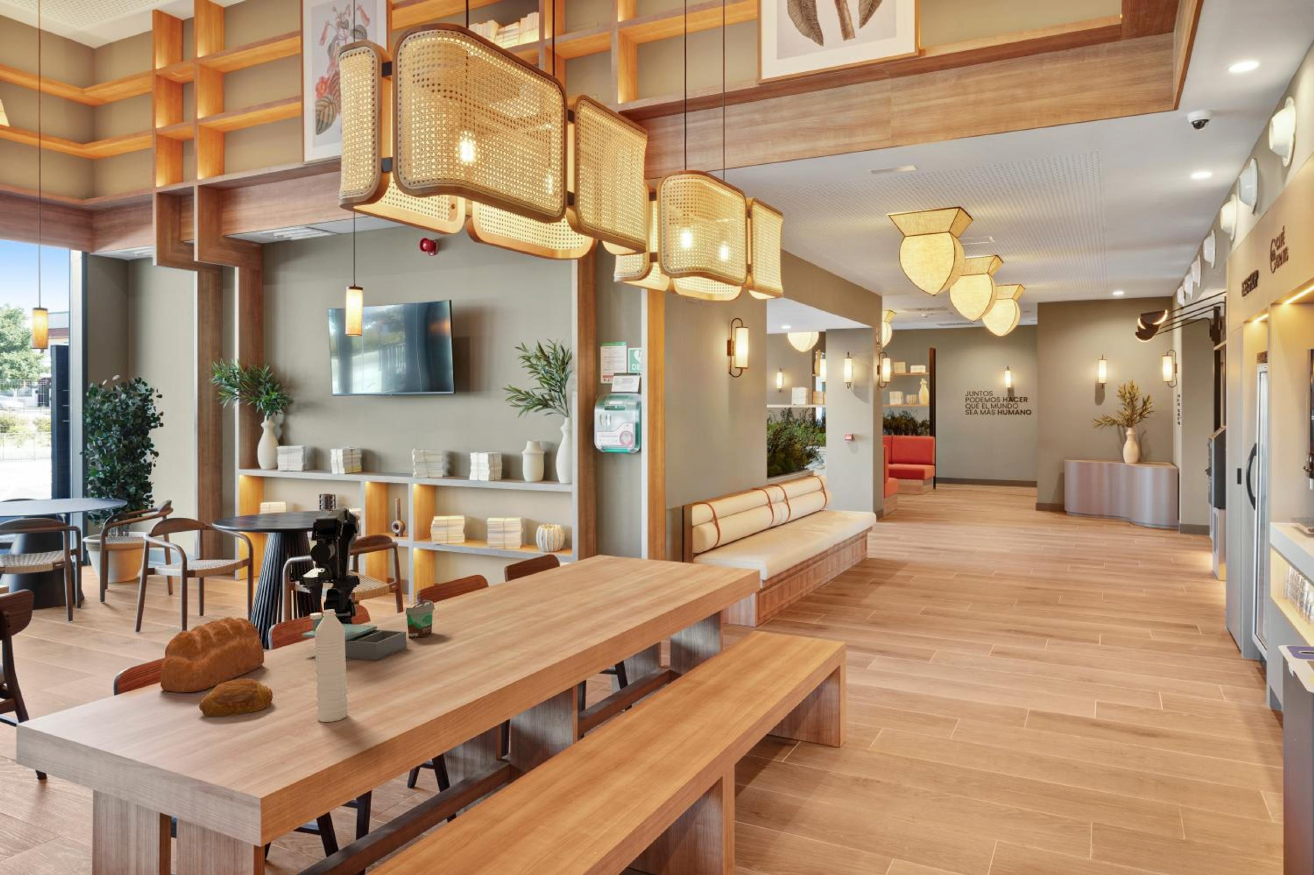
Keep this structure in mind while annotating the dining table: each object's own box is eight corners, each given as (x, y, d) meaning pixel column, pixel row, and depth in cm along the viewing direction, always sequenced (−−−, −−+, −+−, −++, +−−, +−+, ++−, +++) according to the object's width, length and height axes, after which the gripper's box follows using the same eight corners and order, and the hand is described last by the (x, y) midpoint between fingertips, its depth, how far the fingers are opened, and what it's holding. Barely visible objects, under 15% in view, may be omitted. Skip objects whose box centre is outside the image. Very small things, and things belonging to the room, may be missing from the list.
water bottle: (331, 711, 198) (328, 605, 198) (353, 714, 196) (350, 607, 195) (303, 724, 190) (300, 614, 190) (326, 727, 188) (323, 615, 187)
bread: (153, 692, 217) (151, 632, 216) (229, 663, 242) (228, 609, 242) (198, 695, 213) (196, 634, 213) (270, 665, 239) (269, 611, 239)
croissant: (266, 723, 198) (270, 689, 198) (193, 722, 194) (197, 687, 193) (276, 702, 212) (280, 671, 212) (208, 700, 207) (212, 668, 207)
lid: (301, 636, 249) (301, 620, 249) (334, 625, 262) (333, 610, 262) (346, 640, 244) (345, 623, 243) (377, 628, 257) (376, 612, 257)
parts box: (331, 657, 245) (330, 640, 245) (362, 644, 259) (362, 628, 259) (376, 661, 240) (376, 643, 240) (406, 648, 253) (406, 631, 253)
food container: (424, 640, 262) (423, 608, 262) (406, 639, 264) (405, 608, 263) (442, 630, 274) (441, 600, 274) (424, 630, 276) (423, 599, 275)
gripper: (284, 560, 252) (286, 612, 252) (334, 563, 245) (335, 616, 246) (311, 554, 262) (313, 604, 263) (360, 556, 256) (361, 607, 256)
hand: (330, 608), depth 257 cm, fingers open, 9 cm apart
